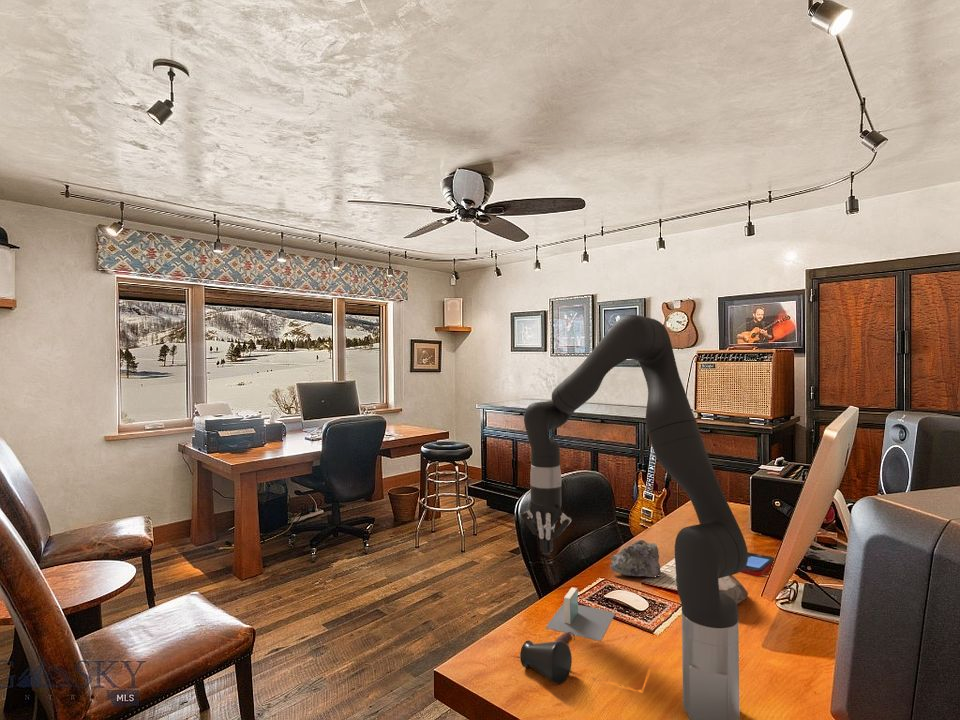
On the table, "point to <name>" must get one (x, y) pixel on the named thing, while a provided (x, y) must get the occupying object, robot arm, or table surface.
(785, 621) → the table surface
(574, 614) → the tile
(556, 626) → the mat
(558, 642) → the coffee pot
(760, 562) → the game console
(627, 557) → the mineral rock
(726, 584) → the stone
